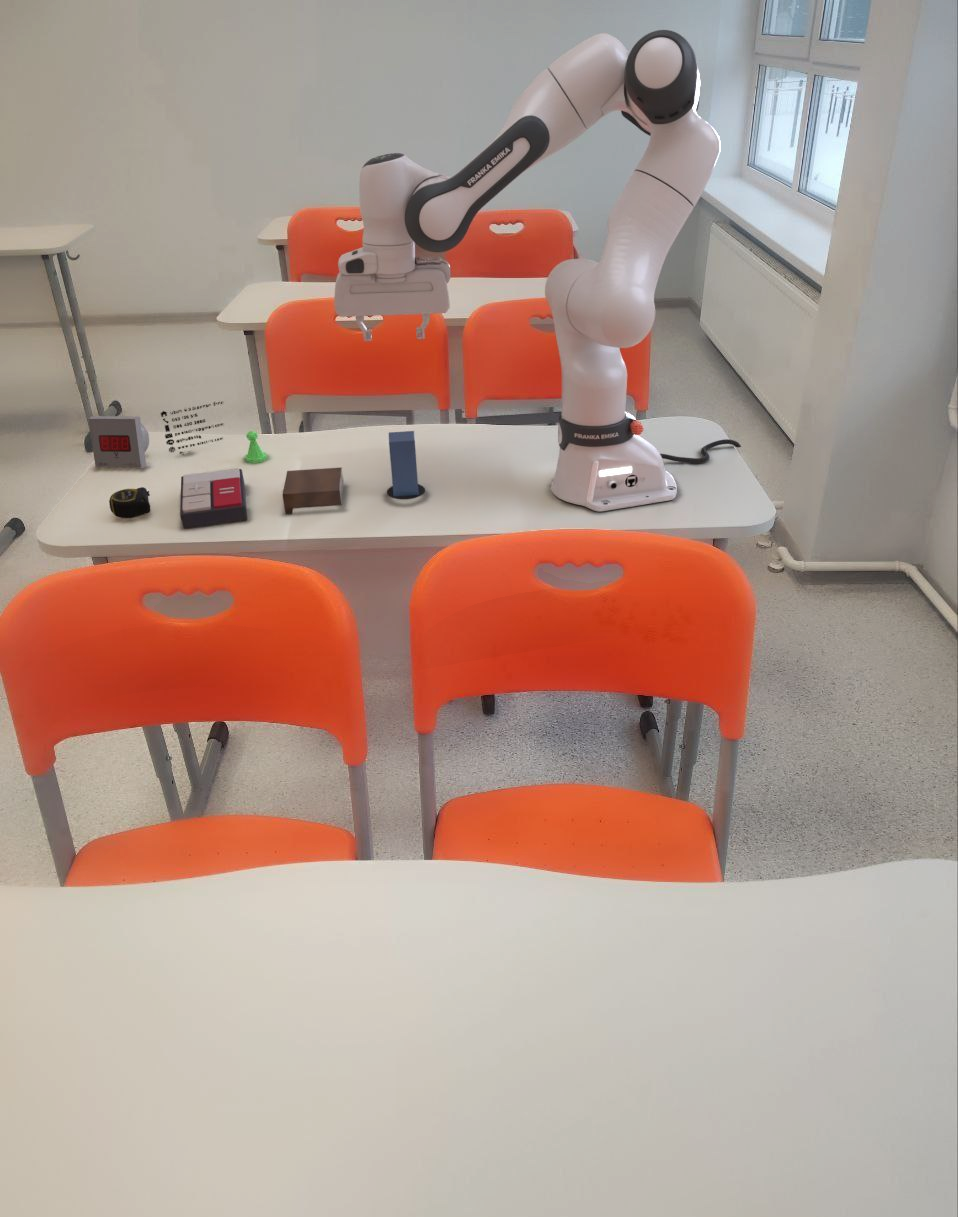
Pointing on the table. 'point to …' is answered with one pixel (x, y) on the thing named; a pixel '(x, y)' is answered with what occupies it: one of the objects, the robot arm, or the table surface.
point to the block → (403, 463)
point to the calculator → (213, 498)
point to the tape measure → (130, 503)
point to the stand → (312, 488)
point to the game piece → (254, 449)
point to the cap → (420, 490)
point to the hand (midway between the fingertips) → (394, 339)
